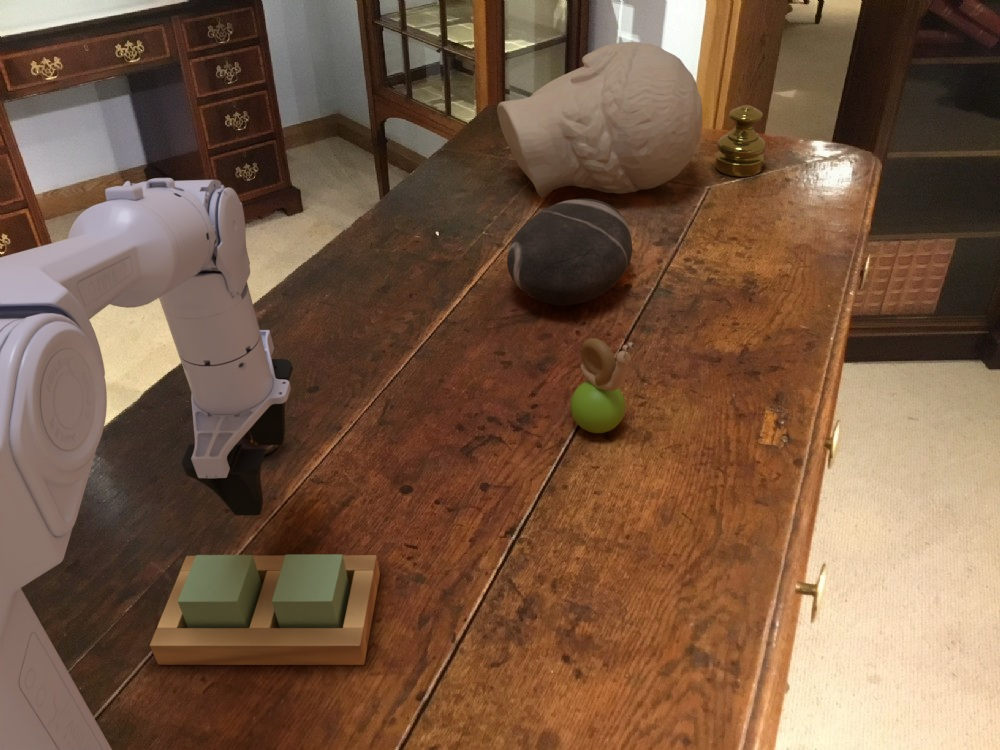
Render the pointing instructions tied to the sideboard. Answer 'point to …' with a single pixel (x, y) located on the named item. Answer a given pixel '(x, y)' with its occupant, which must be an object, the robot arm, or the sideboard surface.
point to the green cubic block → (312, 591)
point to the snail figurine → (600, 387)
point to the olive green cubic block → (220, 592)
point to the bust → (608, 122)
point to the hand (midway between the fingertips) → (260, 475)
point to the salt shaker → (741, 145)
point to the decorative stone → (570, 252)
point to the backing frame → (272, 626)
